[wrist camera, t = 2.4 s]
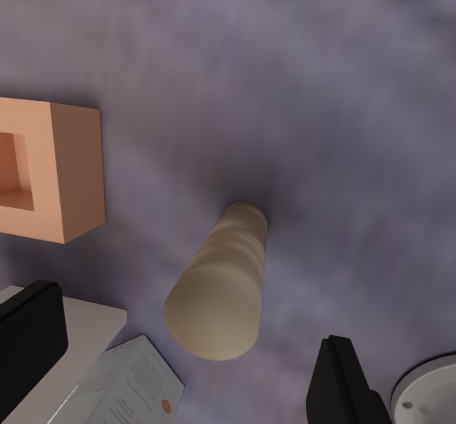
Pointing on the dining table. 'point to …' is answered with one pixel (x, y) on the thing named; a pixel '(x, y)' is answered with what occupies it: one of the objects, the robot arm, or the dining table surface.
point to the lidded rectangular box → (69, 356)
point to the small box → (125, 389)
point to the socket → (50, 170)
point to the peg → (222, 288)
